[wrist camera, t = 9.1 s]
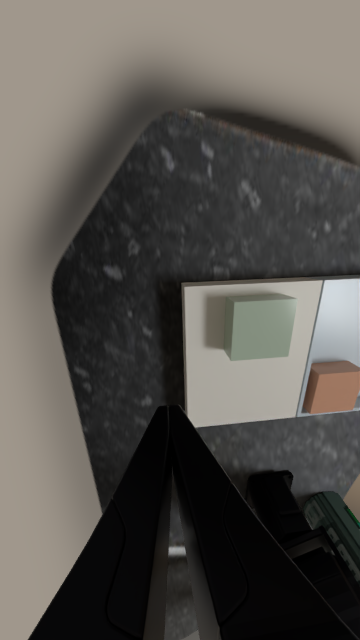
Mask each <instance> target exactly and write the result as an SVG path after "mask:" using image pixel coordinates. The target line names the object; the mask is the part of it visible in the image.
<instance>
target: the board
mask: <svg viewBox="0 0 360 640" xmlns="http://www.w3.org/2000/svg"><path fill="white" fill-rule="evenodd" d="M322 282H323V280H317V279H311V278H304V277H297V278H275V279H253V280H231V281H209V282H187V283H181V286H182V319H183V353H184V386H185V412H186V415H187V416H188V418H189V419H190V421H191V422H192V424H193V425H194V427H204V426H214V425H224V424H233V423H243V422H252V421H262V420H272V419H281V418H291V417H295V415H296V410H297V405H298V400H299V396H300V391H301V386H302V381H303V376H304V371H305V366H306V361H307V356H308V351H309V346H310V341H311V336H312V331H313V326H314V321H315V317H316V312H317V307H318V302H319V297H320V292H321V287H322ZM270 294H284V295H288V296H291V297H294V298H297V299H298V301H297V307H296V313H295V319H294V325H293V331H292V337H291V343H290V349H289V355H288V357H277V358H264V359H251V360H238V361H231V360H230V359H229V357H228V356H227V354H226V353H225V351H224V329H225V306H226V297H232V296H251V295H270Z"/></svg>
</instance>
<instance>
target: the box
mask: <svg viewBox="0 0 360 640" xmlns="http://www.w3.org/2000/svg"><path fill="white" fill-rule="evenodd" d="M305 278H311V279H317V280H323V282H322V287H321V292H320V297H319V302H318V307H317V312H316V317H315V321H314V326H313V331H312V336H311V341H310V346H309V351H308V356H307V361H306V366H305V371H304V376H303V381H302V386H301V391H300V396H299V400H298V405H297V410H296V416H297V417H301V416H310V415H320V414H329V413H339V412H349V411H358V410H360V390H359V393H358V396H357V399H356V402H355V405H354V408H353V410H349V411H339V412H328V413H318V414H309V413H308V411H307V410H306V409H305V408H304V407H303V401H304V397H305V392H306V387H307V383H308V378H309V373H310V368H311V364H312V363H324V362H338V361H349V362H351V363H353V364H355V365H356V366H358V367H360V275H341V276H319V277H305Z"/></svg>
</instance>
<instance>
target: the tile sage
mask: <svg viewBox="0 0 360 640" xmlns="http://www.w3.org/2000/svg"><path fill="white" fill-rule="evenodd" d="M297 301H298V299H297V298H294V297H291V296H288V295H284V294H270V295H251V296H232V297H226V306H225V329H224V351H225V353H226V354H227V356H228V357H229V359H230V360H231V361H238V360H251V359H264V358H277V357H288V355H289V349H290V343H291V337H292V331H293V325H294V319H295V313H296V307H297Z"/></svg>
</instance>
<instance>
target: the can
mask: <svg viewBox="0 0 360 640" xmlns="http://www.w3.org/2000/svg"><path fill="white" fill-rule="evenodd" d="M303 510H304V514H305V516H306V517H307V519H308V521H309V523H310V525H311V526H312V528H313V530H314V529H316V528H319V527H318V526H320V525H323V527H324V528H325V530H326V531H327V533H328V535H329V536H330V538H331V540H332V541H333V543H334V544H335V546H336V548H337V549H338V551H339V553H340V554H341V556H342V558H343V559H344V561H345V562H346V564H347V566H348V567H349V569H350V571H351V572H352V574H353V576H354V577H355V579H356V581H357V582H358V584H359V586H360V523H359V521H358V520H357V519H356V517H355V516H354V515H353V513H352V512H351V511H350V509H349V508H348V506H347V505H346V504H345V503H344V501H343V500H342V498H341V497H340V496H339V495H338V493H335V492H322V494H317V495H316V496H314V497H311V498H310V500H309V501H307V502H306V504H305V506H304V508H303ZM330 553H332V551H331V552H330ZM332 554H333V553H332Z"/></svg>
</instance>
